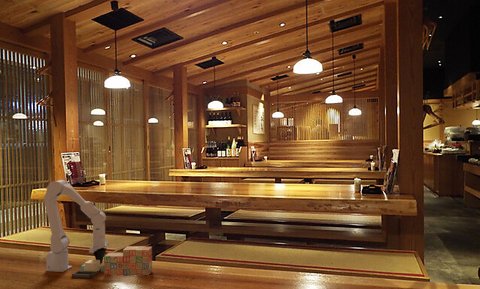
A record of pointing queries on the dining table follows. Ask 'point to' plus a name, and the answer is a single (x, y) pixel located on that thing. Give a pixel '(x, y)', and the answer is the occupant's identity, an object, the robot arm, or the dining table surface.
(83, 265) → the lane walls
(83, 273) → the trap pit
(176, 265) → the dining table surface
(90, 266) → the cream block
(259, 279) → the dining table surface
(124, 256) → the stack of blocks
